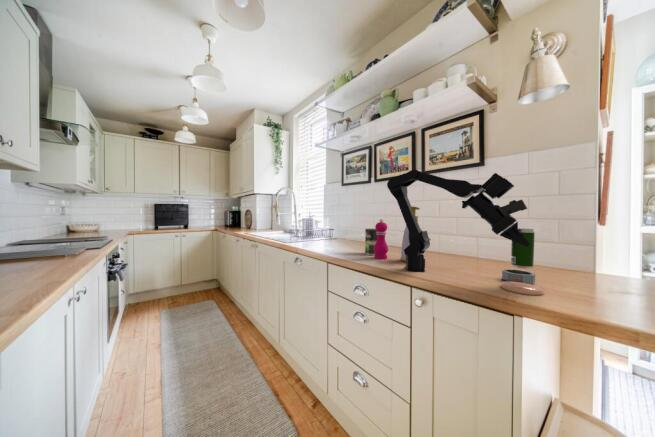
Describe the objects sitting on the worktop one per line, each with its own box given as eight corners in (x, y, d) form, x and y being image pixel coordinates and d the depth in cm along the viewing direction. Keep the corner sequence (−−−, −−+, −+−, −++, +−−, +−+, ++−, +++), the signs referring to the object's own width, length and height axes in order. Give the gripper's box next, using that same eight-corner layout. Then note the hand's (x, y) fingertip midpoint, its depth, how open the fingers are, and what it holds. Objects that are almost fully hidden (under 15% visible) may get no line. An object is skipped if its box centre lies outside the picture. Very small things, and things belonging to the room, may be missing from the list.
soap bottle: (395, 259, 115) (395, 206, 114) (414, 258, 118) (415, 207, 118) (409, 264, 104) (410, 206, 104) (430, 263, 107) (431, 206, 107)
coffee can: (369, 256, 124) (369, 229, 124) (362, 252, 134) (362, 228, 134) (386, 255, 126) (387, 229, 126) (378, 252, 136) (378, 228, 136)
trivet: (515, 294, 65) (515, 290, 65) (493, 284, 75) (493, 280, 75) (554, 296, 64) (554, 292, 64) (526, 285, 74) (526, 282, 74)
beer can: (520, 269, 69) (521, 229, 69) (506, 264, 75) (507, 228, 75) (538, 269, 69) (539, 229, 69) (523, 265, 75) (524, 228, 74)
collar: (513, 283, 75) (514, 274, 75) (497, 277, 83) (497, 268, 83) (541, 284, 74) (541, 275, 74) (521, 278, 82) (522, 269, 82)
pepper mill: (388, 259, 114) (389, 219, 114) (373, 259, 115) (374, 219, 115) (387, 257, 121) (388, 219, 121) (373, 256, 122) (374, 218, 122)
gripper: (507, 188, 67) (559, 228, 60) (509, 193, 81) (551, 226, 74) (474, 215, 72) (518, 254, 65) (481, 215, 86) (518, 248, 80)
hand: (528, 244), depth 71 cm, fingers closed on beer can, 5 cm apart
